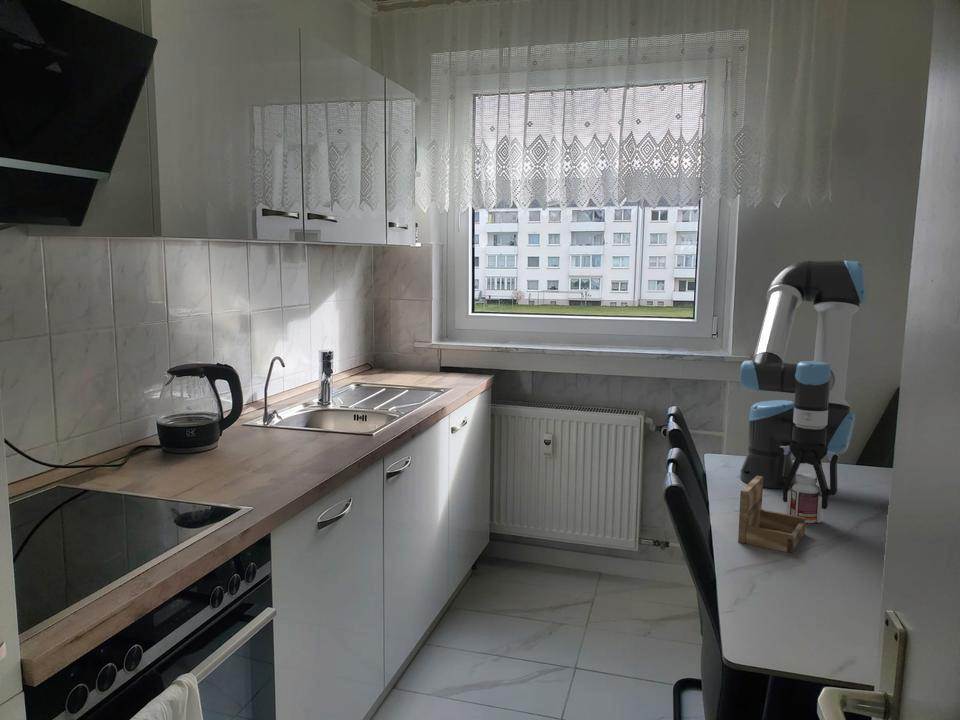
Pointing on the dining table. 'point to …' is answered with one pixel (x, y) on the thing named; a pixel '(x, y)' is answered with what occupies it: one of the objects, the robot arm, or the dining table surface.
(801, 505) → the pill bottle
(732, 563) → the dining table surface
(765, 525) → the brown wooden l-shaped frame
